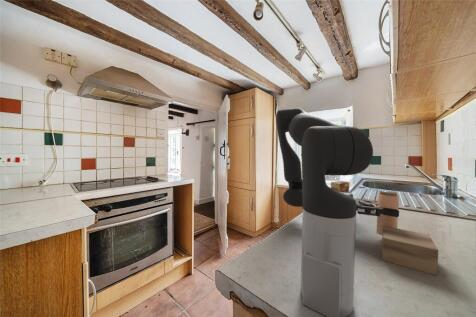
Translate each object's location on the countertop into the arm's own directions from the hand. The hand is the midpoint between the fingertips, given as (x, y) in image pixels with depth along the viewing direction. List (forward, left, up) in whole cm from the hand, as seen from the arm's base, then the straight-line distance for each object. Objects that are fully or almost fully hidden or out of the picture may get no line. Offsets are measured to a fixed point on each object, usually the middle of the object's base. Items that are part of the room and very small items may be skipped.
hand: (397, 211), depth 58 cm
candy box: (+16, +19, -10) cm, 27 cm away
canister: (0, +3, -8) cm, 8 cm away
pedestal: (-10, -1, -10) cm, 14 cm away
